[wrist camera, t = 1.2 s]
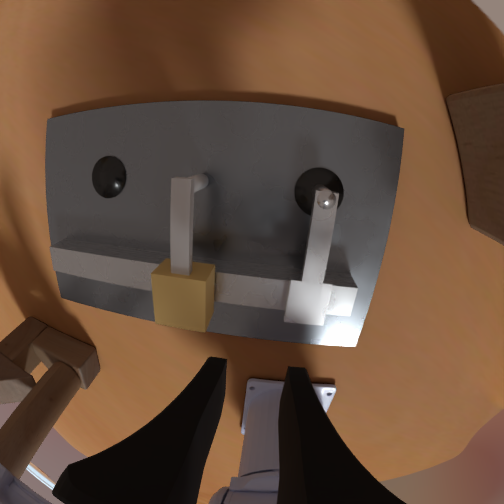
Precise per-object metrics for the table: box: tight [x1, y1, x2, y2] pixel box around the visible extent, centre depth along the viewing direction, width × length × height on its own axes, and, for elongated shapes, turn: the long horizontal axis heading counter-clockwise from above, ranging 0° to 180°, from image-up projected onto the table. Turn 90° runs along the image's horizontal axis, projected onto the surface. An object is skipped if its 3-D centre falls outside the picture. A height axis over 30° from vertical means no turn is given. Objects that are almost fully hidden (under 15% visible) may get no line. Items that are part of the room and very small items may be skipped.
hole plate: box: [45, 101, 404, 347], centre depth 17 cm, size 16×26×4 cm, turn 85°
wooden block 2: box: [0, 317, 100, 479], centre depth 16 cm, size 4×11×18 cm, turn 80°
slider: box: [151, 174, 215, 333], centre depth 15 cm, size 8×3×4 cm, turn 175°
